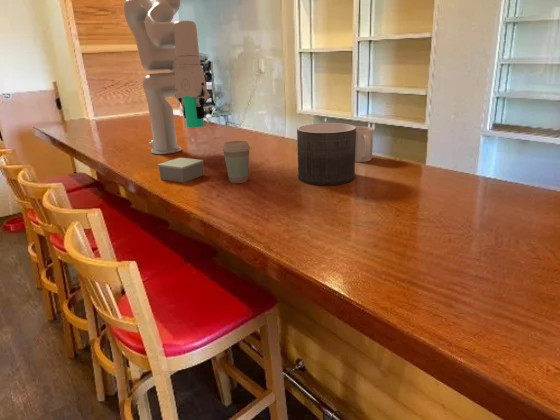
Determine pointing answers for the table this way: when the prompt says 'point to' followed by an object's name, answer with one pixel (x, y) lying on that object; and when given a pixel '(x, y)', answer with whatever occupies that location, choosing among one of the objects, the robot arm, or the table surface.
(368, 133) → the mug
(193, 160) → the pedestal
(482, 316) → the table surface
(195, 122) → the candle
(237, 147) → the coffee cup
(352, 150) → the planter
